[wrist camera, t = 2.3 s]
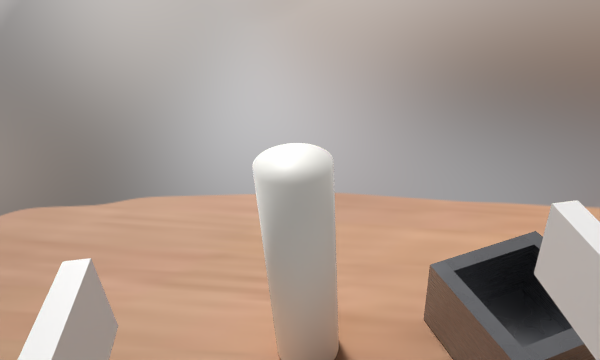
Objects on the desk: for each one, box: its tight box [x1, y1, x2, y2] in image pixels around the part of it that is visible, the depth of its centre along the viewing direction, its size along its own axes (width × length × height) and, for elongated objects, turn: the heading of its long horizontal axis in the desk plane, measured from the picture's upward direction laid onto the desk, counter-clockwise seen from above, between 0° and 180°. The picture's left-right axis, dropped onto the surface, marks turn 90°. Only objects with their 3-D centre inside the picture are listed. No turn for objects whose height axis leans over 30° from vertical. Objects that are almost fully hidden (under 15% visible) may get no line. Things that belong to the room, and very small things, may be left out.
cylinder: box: [252, 143, 339, 360], centre depth 28 cm, size 4×4×14 cm
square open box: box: [424, 231, 596, 360], centre depth 29 cm, size 8×8×5 cm
